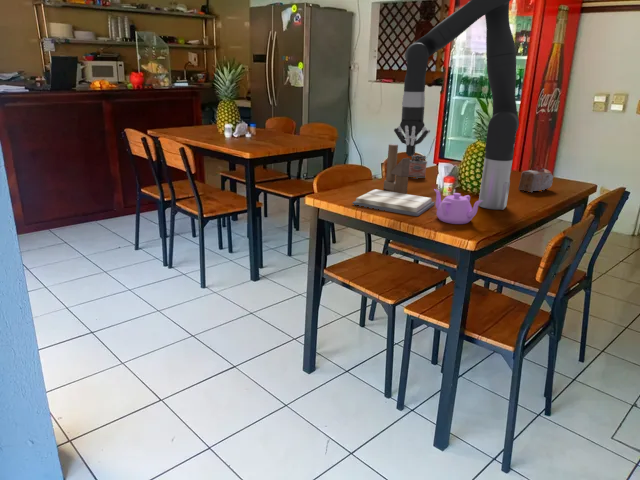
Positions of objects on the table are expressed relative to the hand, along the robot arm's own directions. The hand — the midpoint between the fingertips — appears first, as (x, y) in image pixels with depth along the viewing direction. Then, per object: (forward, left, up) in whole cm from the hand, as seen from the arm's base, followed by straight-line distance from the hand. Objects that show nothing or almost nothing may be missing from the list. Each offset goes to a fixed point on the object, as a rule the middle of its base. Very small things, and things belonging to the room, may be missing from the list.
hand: (410, 155), depth 177 cm
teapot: (-21, +13, -17) cm, 30 cm away
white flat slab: (+2, +12, -17) cm, 20 cm away
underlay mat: (+2, +7, -17) cm, 18 cm away
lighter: (+11, -43, -17) cm, 47 cm away
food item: (-38, -49, -17) cm, 65 cm away
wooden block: (+9, -12, -17) cm, 22 cm away
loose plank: (+2, +3, -16) cm, 16 cm away
